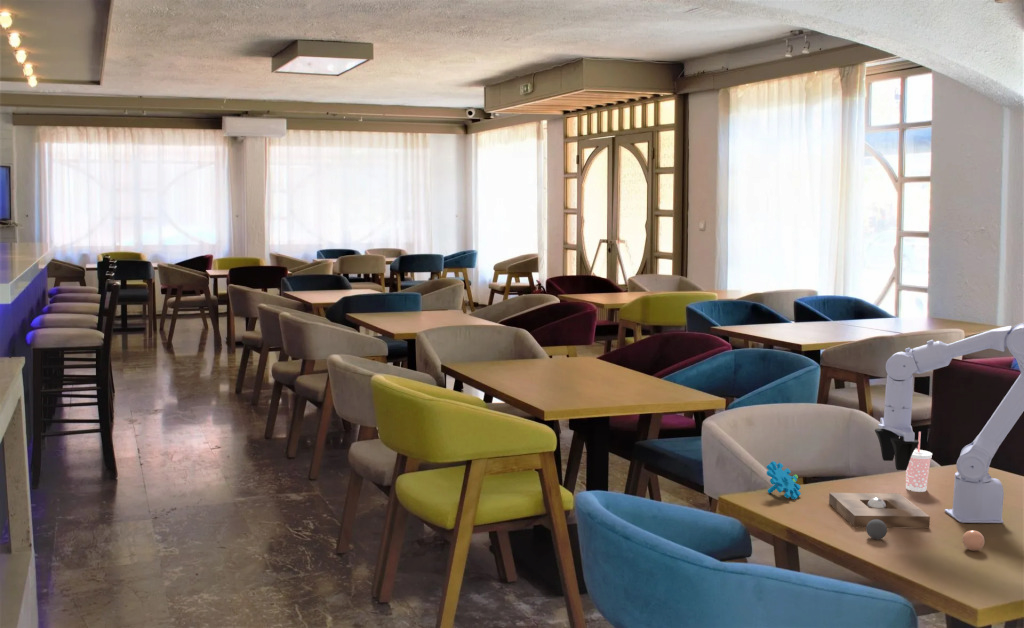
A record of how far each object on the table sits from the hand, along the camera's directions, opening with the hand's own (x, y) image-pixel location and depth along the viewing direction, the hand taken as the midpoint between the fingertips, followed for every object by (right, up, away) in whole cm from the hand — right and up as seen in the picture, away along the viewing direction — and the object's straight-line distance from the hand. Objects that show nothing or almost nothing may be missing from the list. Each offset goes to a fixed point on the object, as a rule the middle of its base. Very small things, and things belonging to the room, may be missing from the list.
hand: (894, 465), depth 222 cm
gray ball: (-12, -10, -21) cm, 26 cm away
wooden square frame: (-6, -10, -6) cm, 13 cm away
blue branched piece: (-23, -9, +8) cm, 26 cm away
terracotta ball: (+5, -11, -27) cm, 29 cm away
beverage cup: (+11, -8, +14) cm, 20 cm away
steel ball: (-6, -8, -6) cm, 12 cm away
